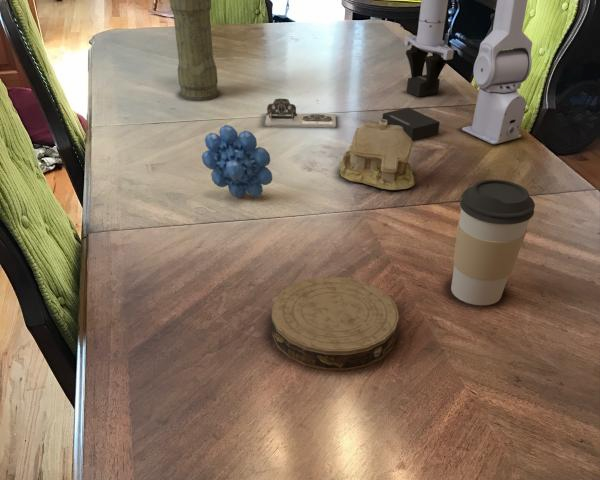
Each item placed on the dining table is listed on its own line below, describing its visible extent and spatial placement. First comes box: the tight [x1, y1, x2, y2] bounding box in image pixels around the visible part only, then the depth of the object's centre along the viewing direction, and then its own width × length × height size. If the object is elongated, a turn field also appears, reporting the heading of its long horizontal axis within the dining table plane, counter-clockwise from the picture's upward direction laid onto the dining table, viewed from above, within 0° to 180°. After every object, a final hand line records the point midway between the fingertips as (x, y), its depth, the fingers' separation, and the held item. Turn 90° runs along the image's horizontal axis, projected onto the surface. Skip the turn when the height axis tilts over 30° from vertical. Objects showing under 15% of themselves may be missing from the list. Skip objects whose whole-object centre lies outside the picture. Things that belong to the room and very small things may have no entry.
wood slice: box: [271, 276, 400, 372], centre depth 78 cm, size 16×16×3 cm
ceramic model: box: [338, 118, 415, 191], centre depth 109 cm, size 14×11×10 cm
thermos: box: [169, 0, 219, 102], centre depth 132 cm, size 9×12×35 cm
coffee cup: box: [450, 178, 536, 306], centre depth 80 cm, size 9×9×15 cm
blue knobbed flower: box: [201, 124, 273, 199], centre depth 101 cm, size 12×7×12 cm, turn 85°
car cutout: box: [264, 98, 337, 128], centre depth 131 cm, size 15×7×4 cm, turn 88°
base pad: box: [381, 107, 441, 142], centre depth 128 cm, size 10×7×3 cm
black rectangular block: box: [406, 74, 441, 98], centre depth 145 cm, size 4×6×3 cm
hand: (423, 86), depth 146 cm, fingers closed on black rectangular block, 4 cm apart
